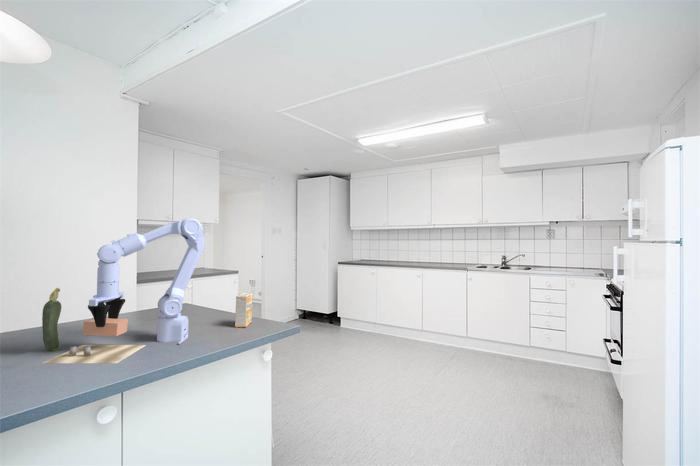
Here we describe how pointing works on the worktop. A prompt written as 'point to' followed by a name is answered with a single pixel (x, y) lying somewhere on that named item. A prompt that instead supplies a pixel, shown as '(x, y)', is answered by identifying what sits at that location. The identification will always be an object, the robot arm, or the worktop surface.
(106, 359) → the board
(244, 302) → the supplement box
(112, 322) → the pink channel block
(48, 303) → the vegetable
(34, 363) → the worktop surface
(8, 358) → the worktop surface
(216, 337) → the worktop surface
